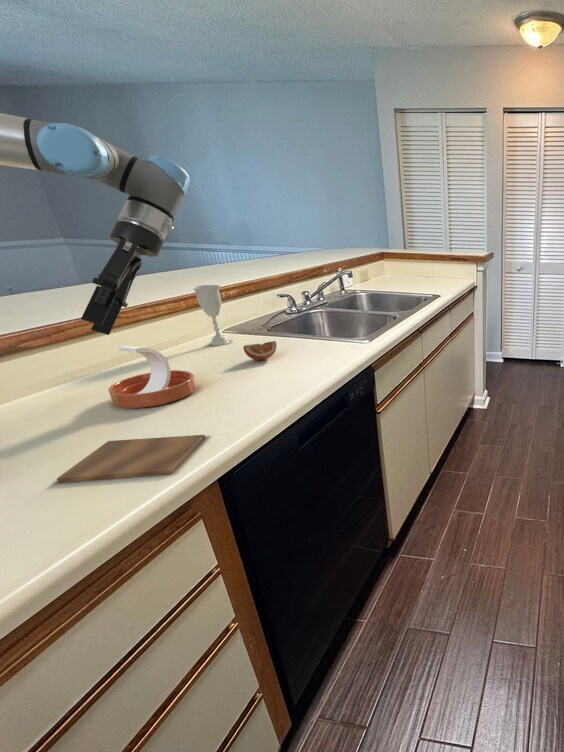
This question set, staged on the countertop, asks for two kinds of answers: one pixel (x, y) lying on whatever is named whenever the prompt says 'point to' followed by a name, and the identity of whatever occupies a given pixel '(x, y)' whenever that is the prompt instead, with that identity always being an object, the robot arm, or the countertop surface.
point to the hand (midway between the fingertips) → (95, 327)
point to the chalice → (211, 308)
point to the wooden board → (133, 458)
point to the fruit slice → (260, 350)
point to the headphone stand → (153, 368)
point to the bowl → (128, 389)
